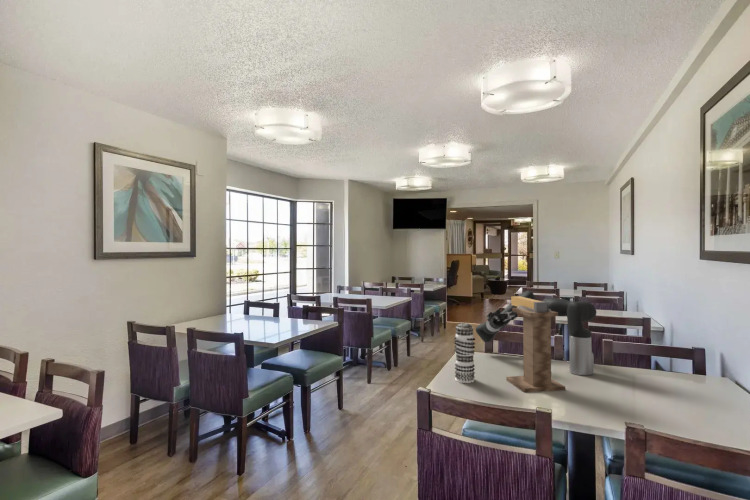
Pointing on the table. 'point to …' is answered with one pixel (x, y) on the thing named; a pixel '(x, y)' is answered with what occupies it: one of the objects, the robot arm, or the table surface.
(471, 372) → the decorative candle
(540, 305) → the tan rectangular block
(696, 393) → the table surface
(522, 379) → the stand
